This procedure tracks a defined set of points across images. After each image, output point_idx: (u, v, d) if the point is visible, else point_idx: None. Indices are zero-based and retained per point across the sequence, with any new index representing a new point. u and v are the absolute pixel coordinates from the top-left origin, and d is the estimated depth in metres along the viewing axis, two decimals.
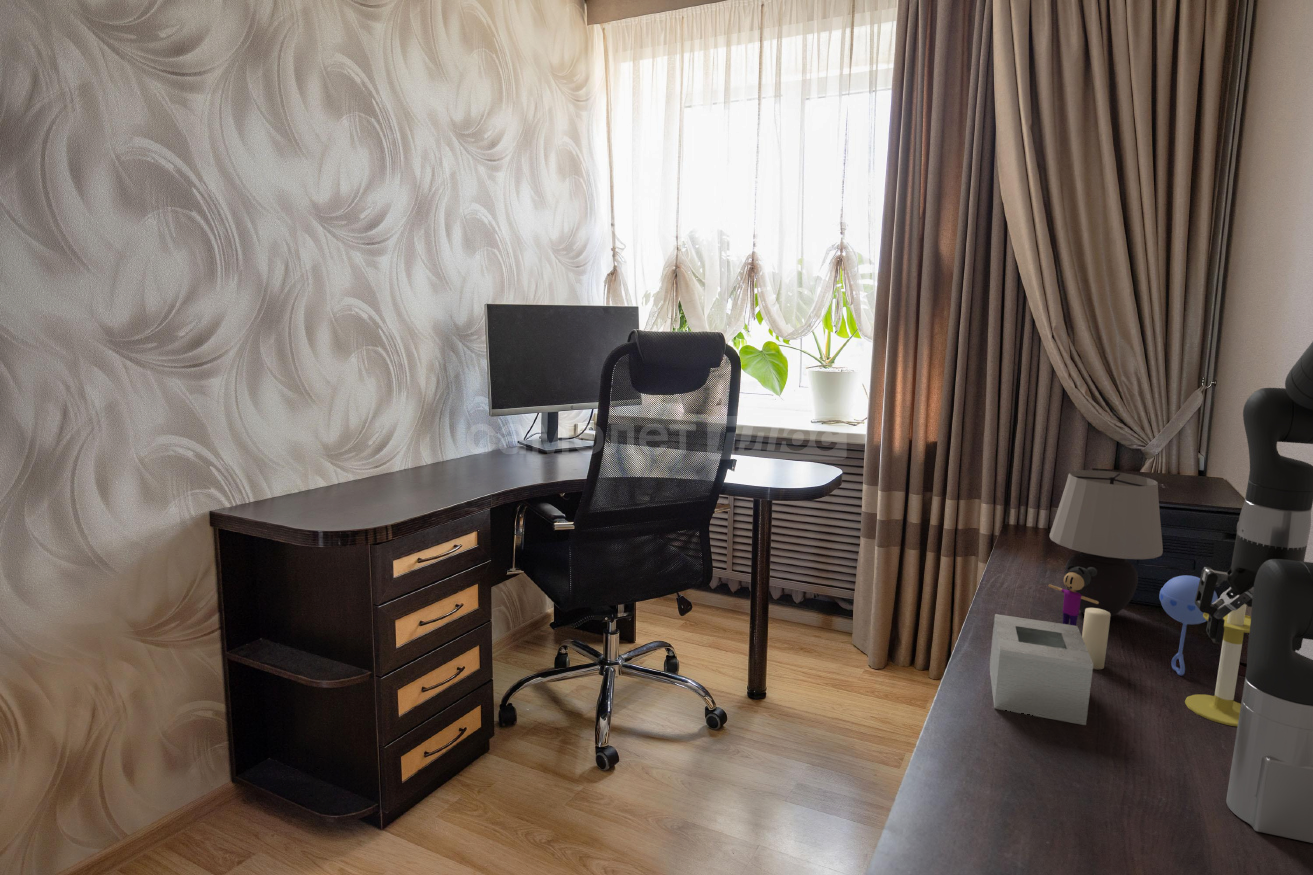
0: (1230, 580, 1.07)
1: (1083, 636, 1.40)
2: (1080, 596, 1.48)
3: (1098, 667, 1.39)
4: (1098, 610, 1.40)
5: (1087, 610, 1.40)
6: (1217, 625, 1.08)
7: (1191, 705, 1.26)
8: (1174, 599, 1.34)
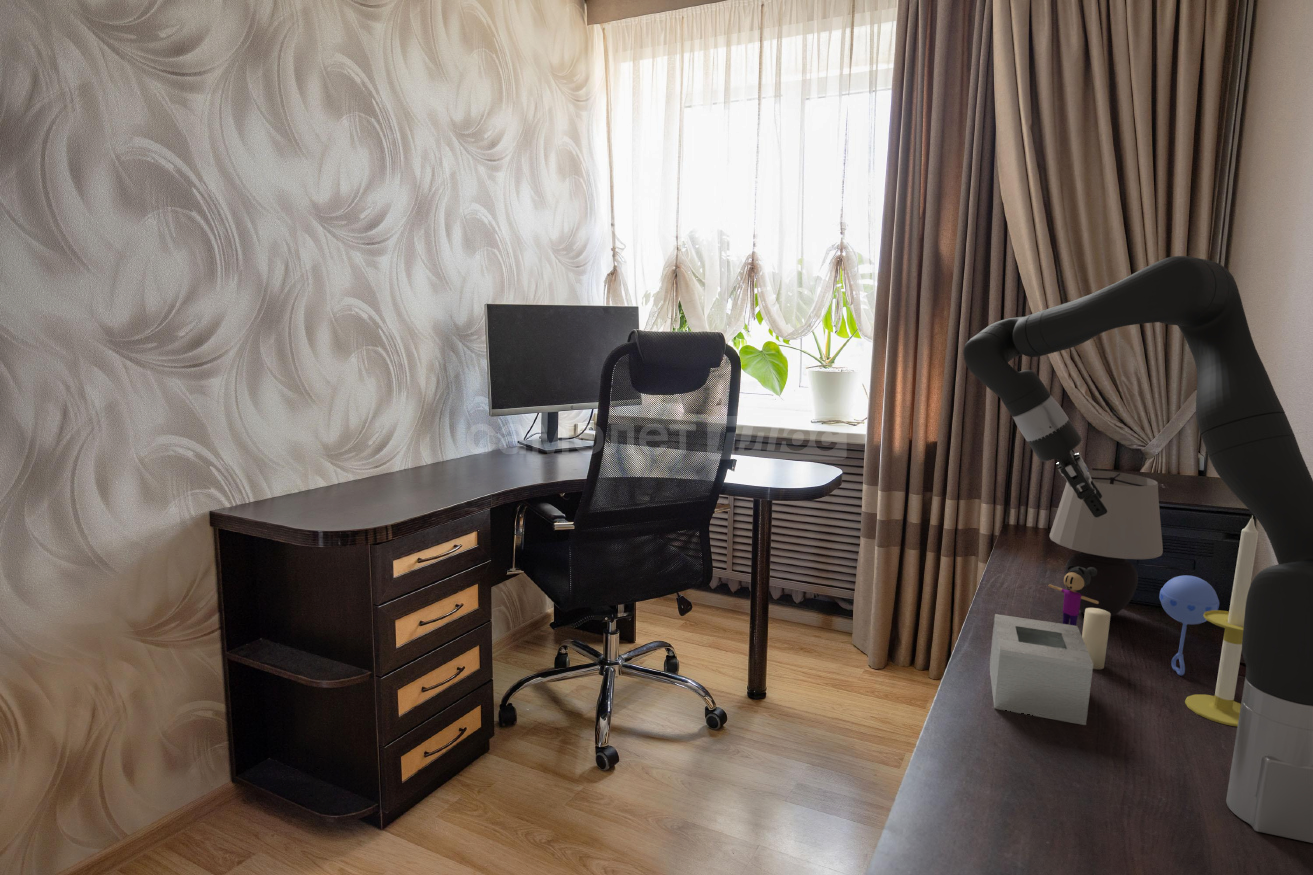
0: None
1: (1083, 636, 1.40)
2: (1080, 596, 1.48)
3: (1098, 667, 1.39)
4: (1098, 610, 1.40)
5: (1087, 610, 1.40)
6: (1098, 499, 1.29)
7: (1191, 705, 1.26)
8: (1174, 599, 1.34)
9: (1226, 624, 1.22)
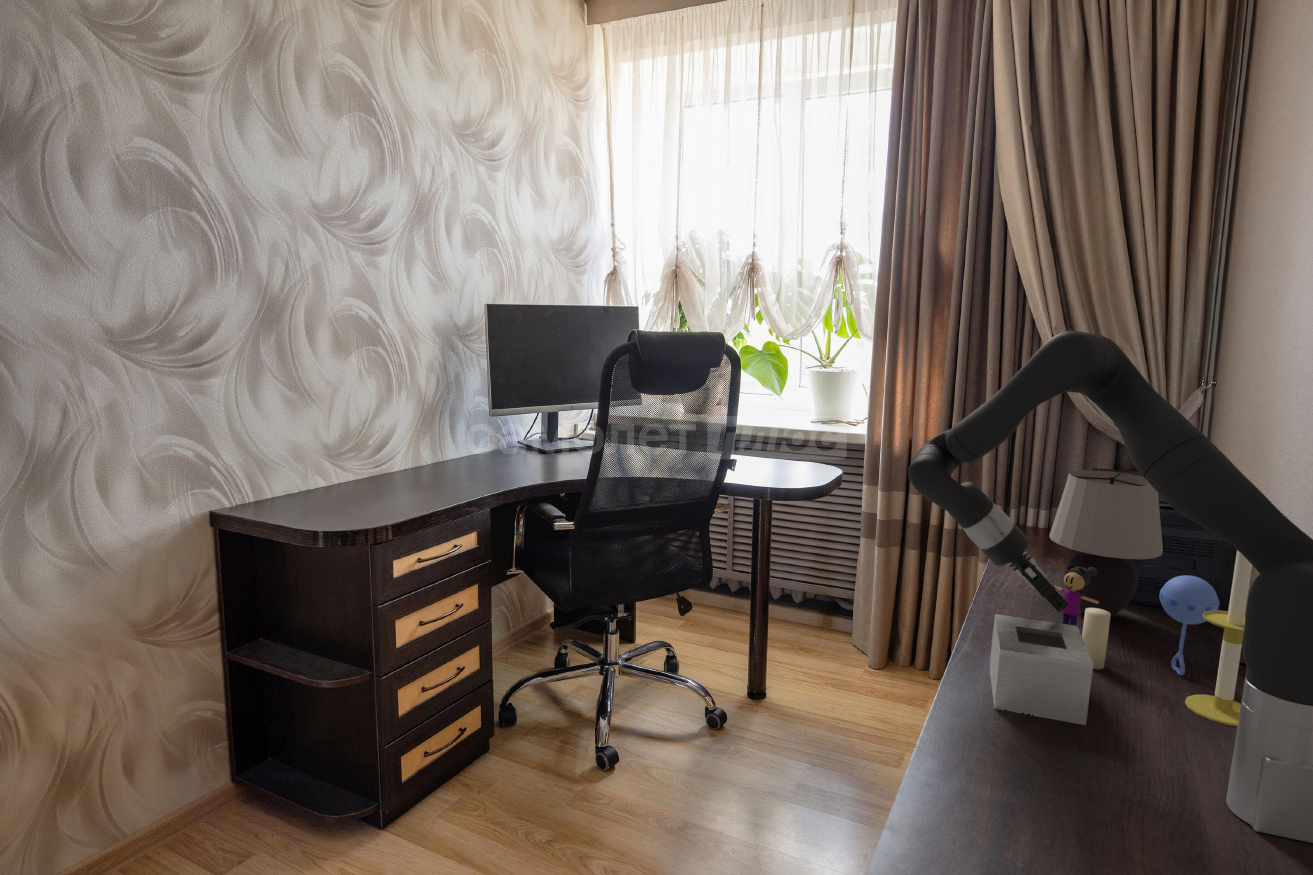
0: (1030, 564, 1.36)
1: (1083, 636, 1.40)
2: (1080, 596, 1.48)
3: (1098, 667, 1.39)
4: (1098, 610, 1.40)
5: (1087, 610, 1.40)
6: (1058, 594, 1.36)
7: (1191, 705, 1.26)
8: (1174, 599, 1.34)
9: (1225, 624, 1.22)
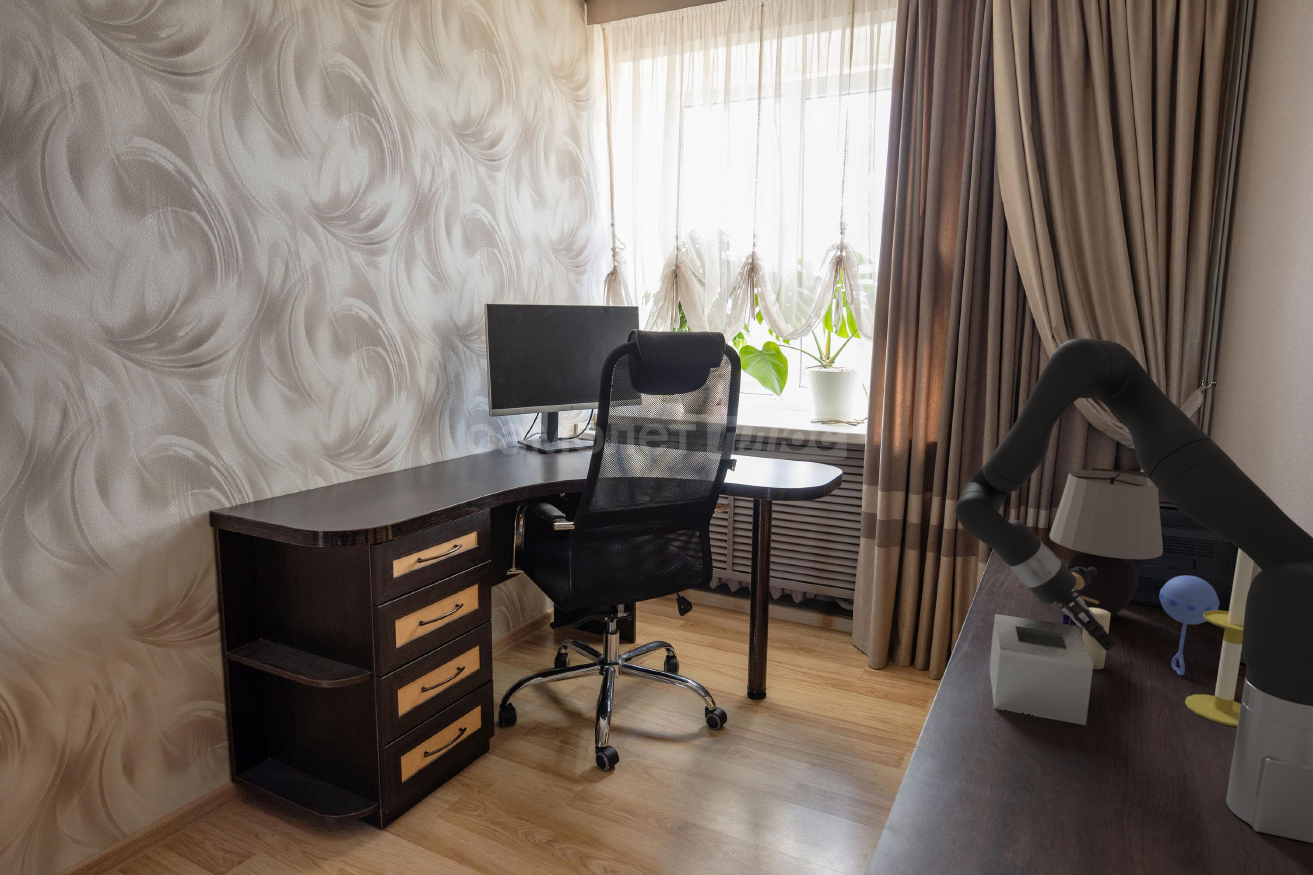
0: (1079, 605, 1.36)
1: (1083, 636, 1.40)
2: (1080, 596, 1.48)
3: (1098, 667, 1.39)
4: (1098, 610, 1.40)
5: None
6: (1105, 633, 1.37)
7: (1191, 705, 1.26)
8: (1174, 599, 1.34)
9: (1226, 624, 1.22)
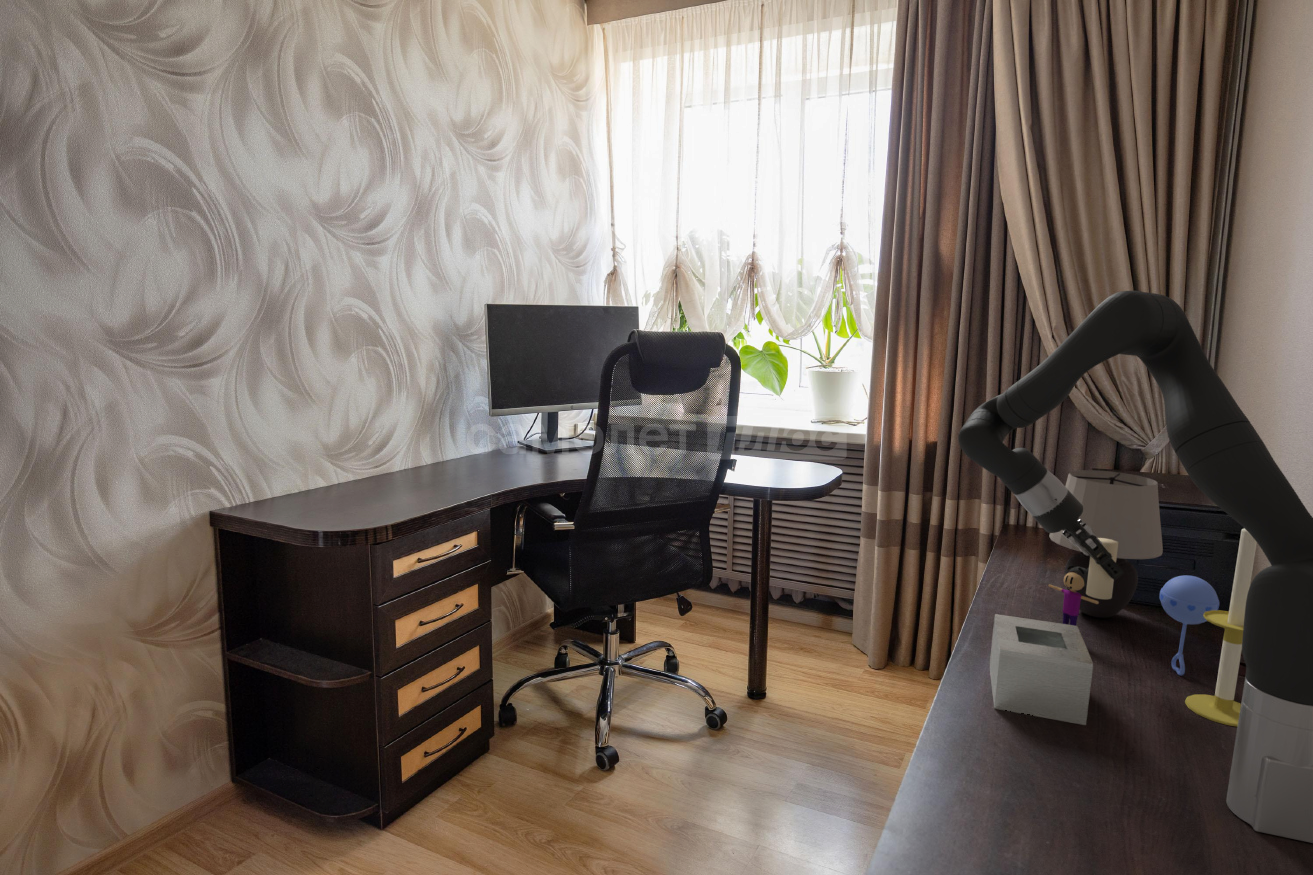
0: (1086, 532, 1.34)
1: (1090, 566, 1.38)
2: (1080, 596, 1.48)
3: (1105, 597, 1.36)
4: (1105, 540, 1.38)
5: None
6: (1113, 561, 1.35)
7: (1191, 705, 1.26)
8: (1174, 599, 1.34)
9: (1226, 624, 1.22)
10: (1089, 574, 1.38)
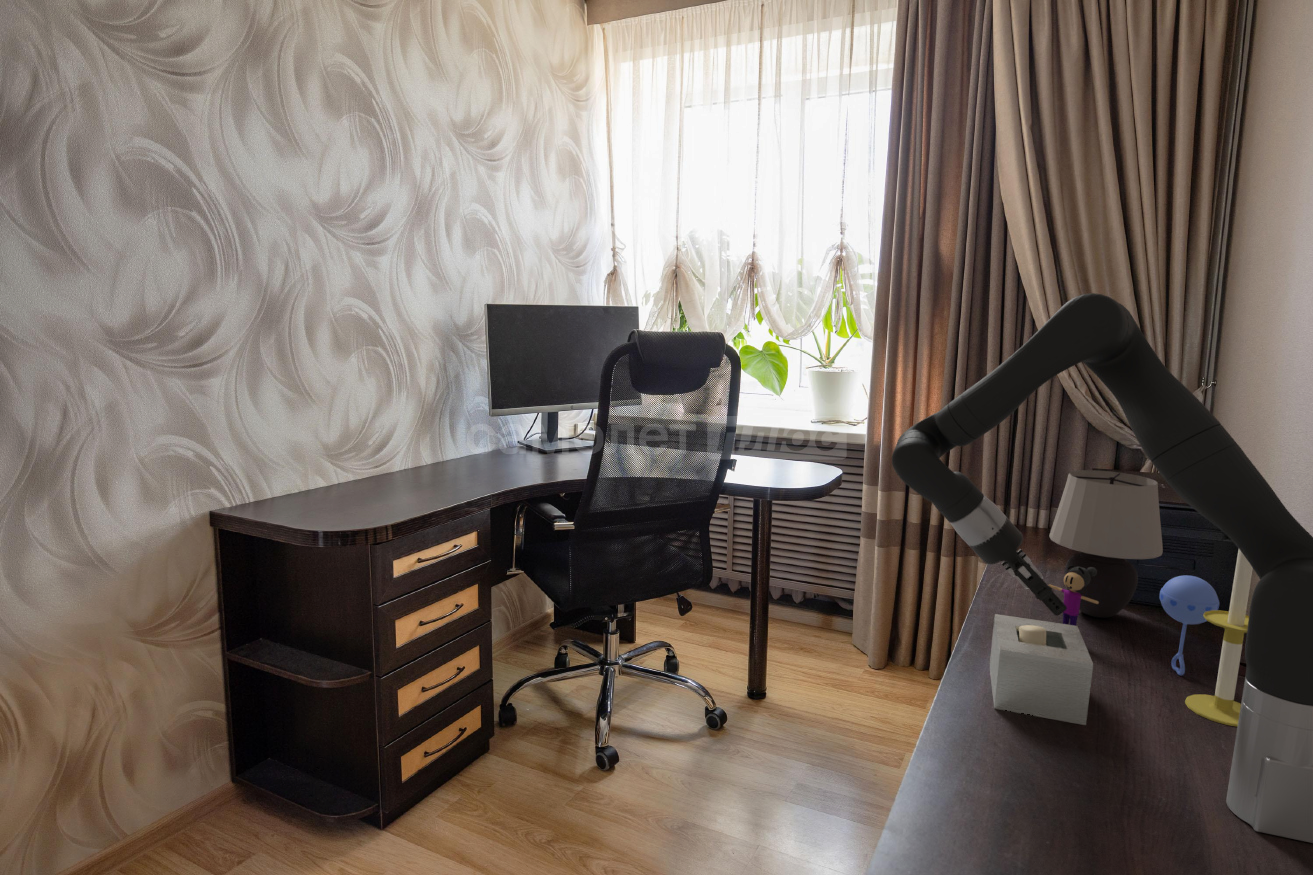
0: (1024, 563, 1.22)
1: None
2: (1080, 596, 1.48)
3: None
4: (1033, 627, 1.29)
5: (1021, 628, 1.29)
6: (1055, 596, 1.22)
7: (1191, 705, 1.26)
8: (1174, 599, 1.34)
9: (1226, 624, 1.22)
10: None
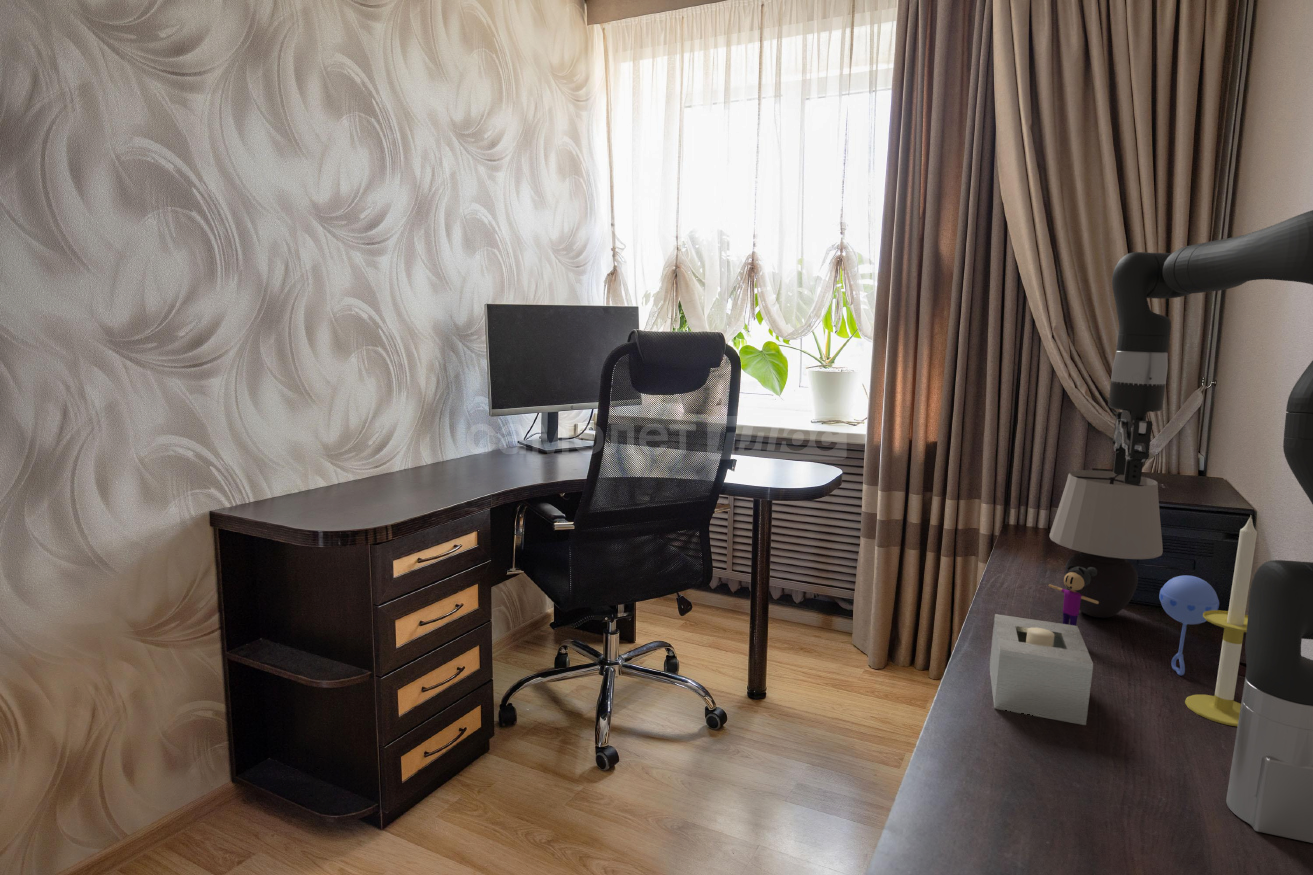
0: None
1: None
2: (1080, 596, 1.48)
3: None
4: (1041, 630, 1.28)
5: (1029, 630, 1.28)
6: (1140, 468, 1.22)
7: (1191, 705, 1.26)
8: (1174, 599, 1.34)
9: (1225, 624, 1.22)
10: None
